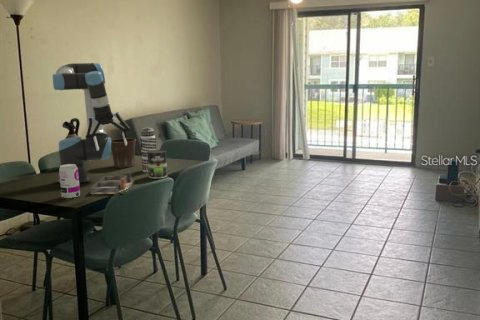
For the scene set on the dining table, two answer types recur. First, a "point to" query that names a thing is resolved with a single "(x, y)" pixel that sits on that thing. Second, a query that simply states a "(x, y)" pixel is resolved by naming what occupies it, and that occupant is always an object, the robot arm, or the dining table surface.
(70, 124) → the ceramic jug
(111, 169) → the dining table surface
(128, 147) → the plant pot
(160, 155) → the coffee can
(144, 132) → the decorative candle
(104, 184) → the beige shallow tray
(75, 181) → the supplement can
